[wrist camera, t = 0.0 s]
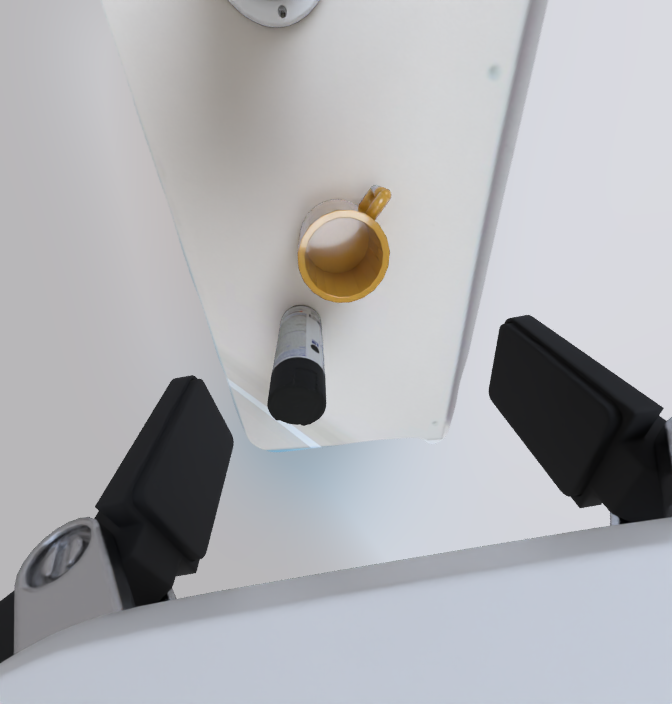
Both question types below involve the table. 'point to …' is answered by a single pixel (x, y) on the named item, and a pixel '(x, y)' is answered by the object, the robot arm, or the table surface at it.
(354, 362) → the table surface
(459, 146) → the table surface
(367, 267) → the mug
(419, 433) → the table surface
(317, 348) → the spray can
